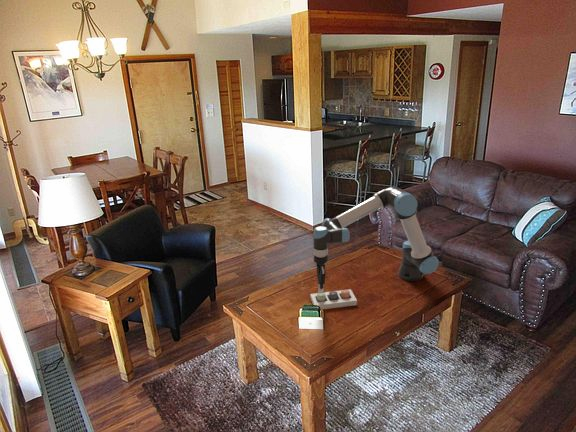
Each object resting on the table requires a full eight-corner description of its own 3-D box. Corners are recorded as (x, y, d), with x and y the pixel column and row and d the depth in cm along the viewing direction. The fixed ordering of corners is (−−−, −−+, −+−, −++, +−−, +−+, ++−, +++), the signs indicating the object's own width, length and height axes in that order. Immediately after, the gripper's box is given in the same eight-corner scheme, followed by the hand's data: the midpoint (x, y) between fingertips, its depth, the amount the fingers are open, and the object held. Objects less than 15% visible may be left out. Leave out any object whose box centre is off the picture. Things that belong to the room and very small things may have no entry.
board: (350, 293, 235) (350, 289, 234) (357, 305, 224) (357, 300, 223) (310, 298, 232) (310, 294, 231) (314, 310, 221) (314, 305, 220)
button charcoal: (336, 295, 230) (336, 290, 229) (338, 299, 225) (338, 295, 224) (328, 296, 229) (328, 291, 228) (330, 300, 225) (330, 296, 223)
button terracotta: (348, 293, 231) (348, 289, 229) (350, 298, 226) (350, 293, 225) (340, 294, 230) (340, 290, 229) (342, 299, 225) (342, 294, 224)
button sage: (324, 296, 229) (324, 292, 228) (326, 301, 224) (326, 296, 223) (316, 297, 228) (316, 293, 227) (318, 302, 224) (317, 297, 223)
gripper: (311, 250, 222) (312, 287, 230) (316, 260, 210) (317, 299, 218) (324, 248, 223) (324, 285, 231) (330, 259, 211) (330, 298, 219)
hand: (321, 292), depth 225 cm, fingers closed
